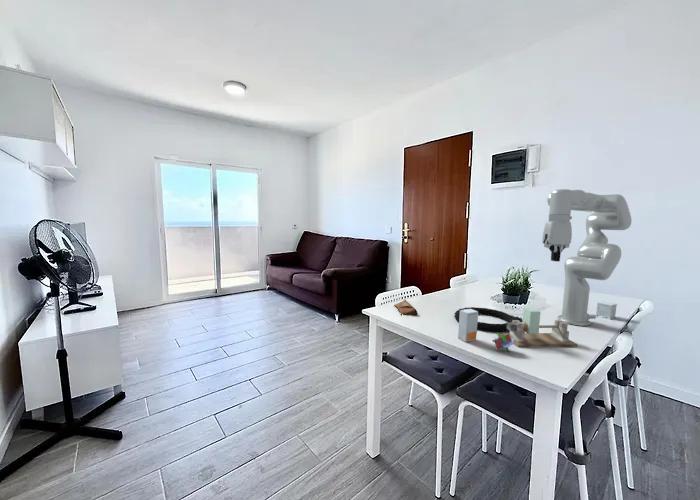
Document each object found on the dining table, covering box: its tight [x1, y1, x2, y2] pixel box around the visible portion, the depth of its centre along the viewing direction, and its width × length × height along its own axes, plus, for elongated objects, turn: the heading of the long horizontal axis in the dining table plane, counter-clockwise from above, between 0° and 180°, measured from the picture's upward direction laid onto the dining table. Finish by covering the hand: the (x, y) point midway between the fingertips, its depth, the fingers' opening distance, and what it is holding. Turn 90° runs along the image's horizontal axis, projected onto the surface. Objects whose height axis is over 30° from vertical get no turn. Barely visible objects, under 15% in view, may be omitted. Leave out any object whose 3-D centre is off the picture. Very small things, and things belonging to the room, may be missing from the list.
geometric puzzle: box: [492, 332, 515, 353], centre depth 110 cm, size 7×7×8 cm
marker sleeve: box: [522, 307, 541, 334], centre depth 118 cm, size 4×4×9 cm
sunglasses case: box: [393, 299, 418, 316], centre depth 156 cm, size 18×7×7 cm
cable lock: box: [454, 306, 523, 333], centre depth 140 cm, size 28×4×30 cm
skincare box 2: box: [595, 300, 618, 319], centre depth 151 cm, size 6×6×7 cm
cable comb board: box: [501, 319, 579, 348], centre depth 119 cm, size 25×11×8 cm, turn 93°
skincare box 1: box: [457, 309, 479, 343], centre depth 119 cm, size 6×4×12 cm
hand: (555, 260), depth 128 cm, fingers closed
